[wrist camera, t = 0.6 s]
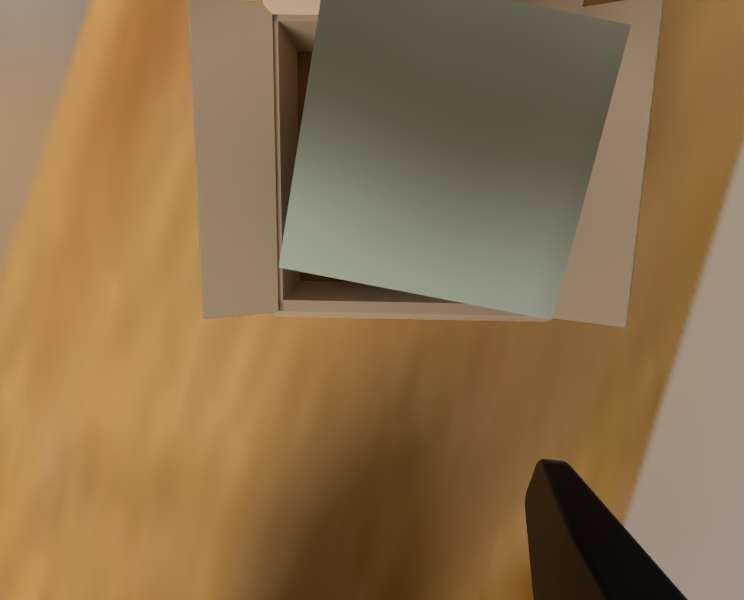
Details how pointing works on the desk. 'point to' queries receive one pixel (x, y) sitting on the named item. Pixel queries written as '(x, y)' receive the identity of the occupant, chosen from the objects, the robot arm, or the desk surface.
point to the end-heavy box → (449, 147)
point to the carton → (278, 153)
